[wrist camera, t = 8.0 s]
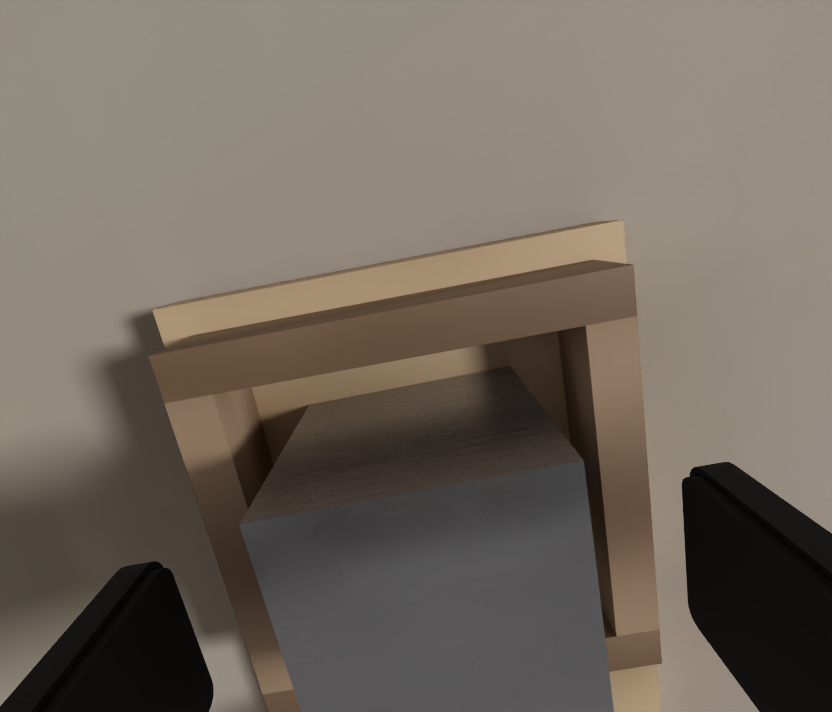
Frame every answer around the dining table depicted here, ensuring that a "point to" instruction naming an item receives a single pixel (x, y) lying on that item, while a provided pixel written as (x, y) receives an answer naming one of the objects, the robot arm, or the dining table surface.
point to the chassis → (417, 363)
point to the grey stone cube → (432, 554)
